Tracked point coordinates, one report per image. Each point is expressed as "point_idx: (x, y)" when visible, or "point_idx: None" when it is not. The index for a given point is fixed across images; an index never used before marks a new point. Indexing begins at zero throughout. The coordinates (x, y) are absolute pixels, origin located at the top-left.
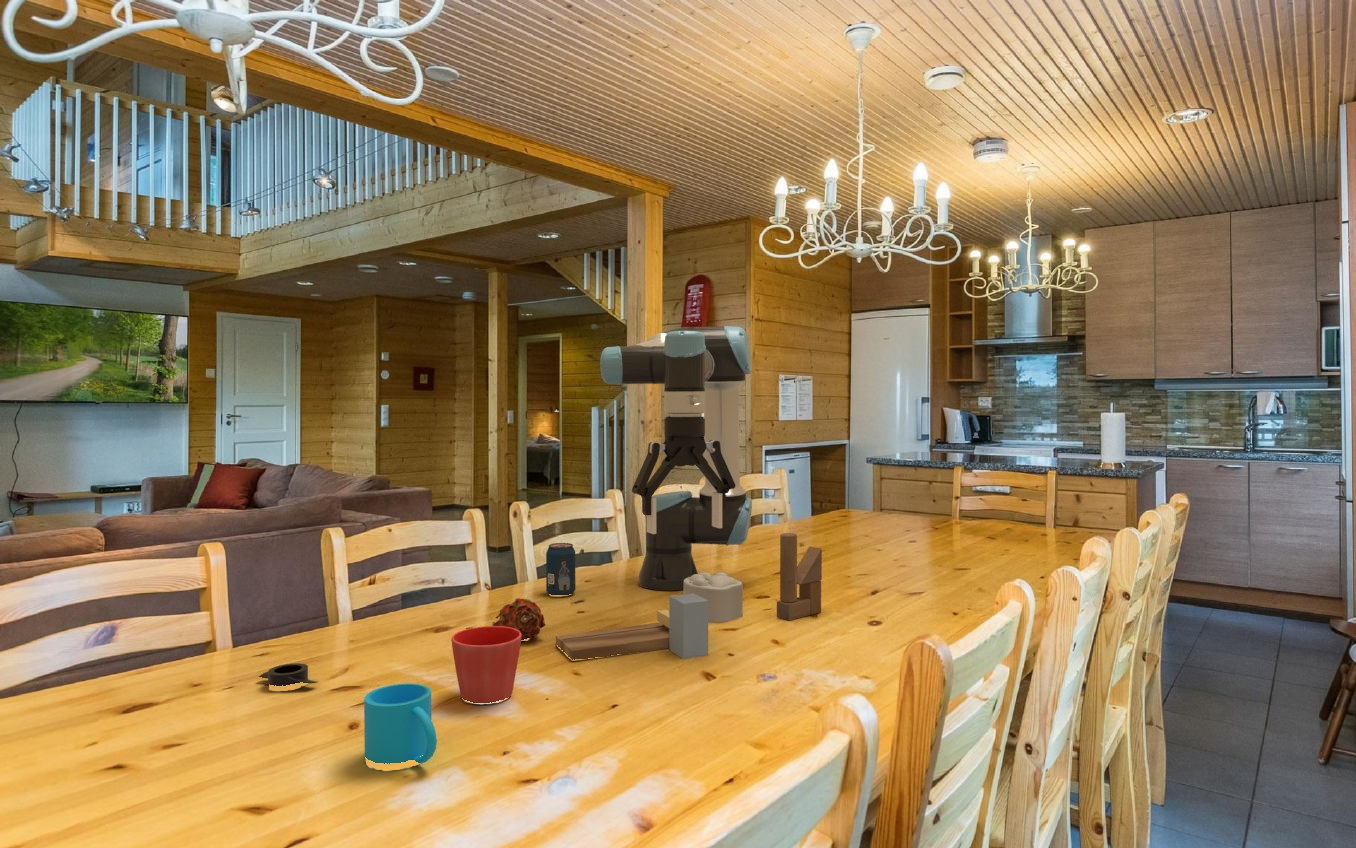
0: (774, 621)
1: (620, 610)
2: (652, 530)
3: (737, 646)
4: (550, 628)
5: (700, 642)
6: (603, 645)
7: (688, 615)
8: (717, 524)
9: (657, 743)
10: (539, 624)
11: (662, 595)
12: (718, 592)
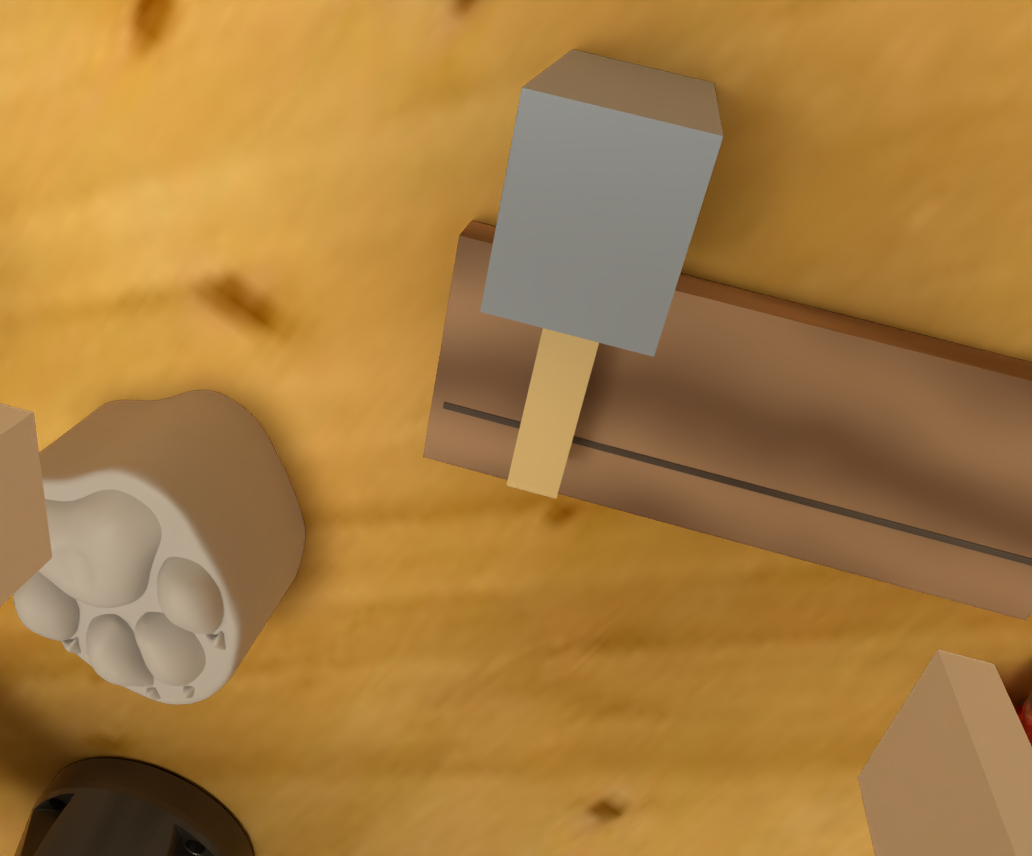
0: (5, 264)
1: (477, 741)
2: (1011, 703)
3: (361, 71)
4: (837, 752)
5: (610, 68)
6: (988, 389)
7: (684, 111)
8: (5, 464)
9: None
10: (1025, 728)
11: (240, 766)
12: (163, 478)
